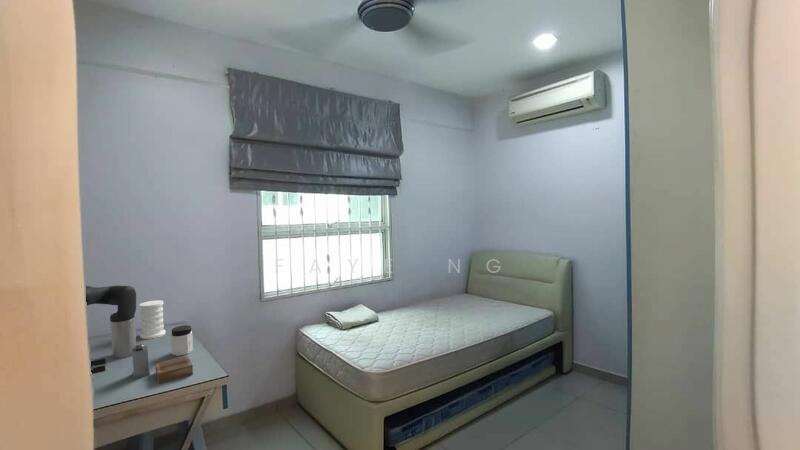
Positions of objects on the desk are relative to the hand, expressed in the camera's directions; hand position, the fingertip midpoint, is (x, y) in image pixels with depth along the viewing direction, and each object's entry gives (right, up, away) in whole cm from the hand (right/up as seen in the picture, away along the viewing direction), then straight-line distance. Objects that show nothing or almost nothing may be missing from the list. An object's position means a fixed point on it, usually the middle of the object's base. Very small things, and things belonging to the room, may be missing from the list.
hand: (105, 364), depth 143 cm
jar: (+13, -6, +30) cm, 33 cm away
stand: (+22, -7, +8) cm, 25 cm away
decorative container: (-18, -5, +53) cm, 56 cm away
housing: (+9, -7, +8) cm, 14 cm away
